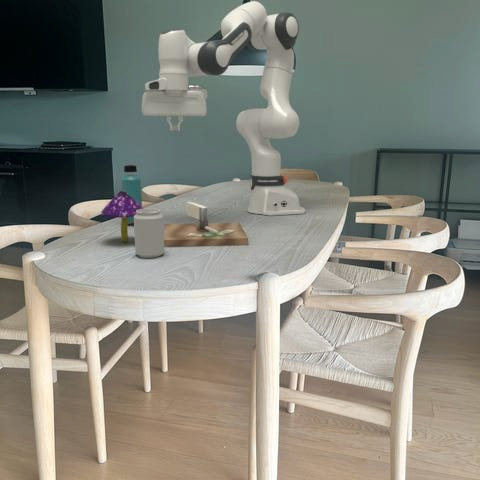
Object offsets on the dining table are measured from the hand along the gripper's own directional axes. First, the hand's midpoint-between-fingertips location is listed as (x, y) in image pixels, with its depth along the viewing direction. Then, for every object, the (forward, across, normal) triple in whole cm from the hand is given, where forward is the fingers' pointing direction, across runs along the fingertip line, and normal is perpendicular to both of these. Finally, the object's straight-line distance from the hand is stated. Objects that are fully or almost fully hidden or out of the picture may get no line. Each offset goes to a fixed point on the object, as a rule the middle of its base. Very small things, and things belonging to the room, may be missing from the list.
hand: (175, 131), depth 152 cm
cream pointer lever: (+29, -8, +13) cm, 32 cm away
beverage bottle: (+31, +15, -6) cm, 35 cm away
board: (+31, -8, +14) cm, 35 cm away
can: (+31, +7, +34) cm, 47 cm away
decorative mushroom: (+31, +15, +19) cm, 40 cm away
